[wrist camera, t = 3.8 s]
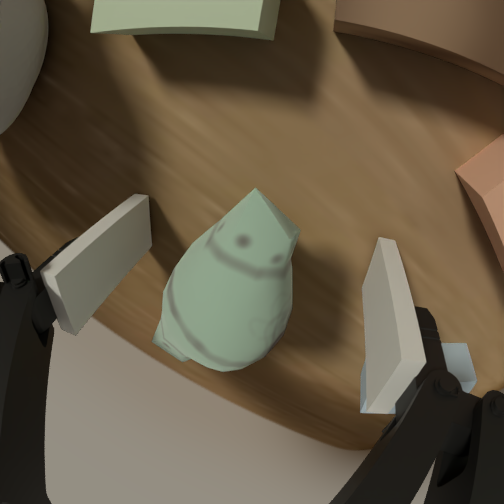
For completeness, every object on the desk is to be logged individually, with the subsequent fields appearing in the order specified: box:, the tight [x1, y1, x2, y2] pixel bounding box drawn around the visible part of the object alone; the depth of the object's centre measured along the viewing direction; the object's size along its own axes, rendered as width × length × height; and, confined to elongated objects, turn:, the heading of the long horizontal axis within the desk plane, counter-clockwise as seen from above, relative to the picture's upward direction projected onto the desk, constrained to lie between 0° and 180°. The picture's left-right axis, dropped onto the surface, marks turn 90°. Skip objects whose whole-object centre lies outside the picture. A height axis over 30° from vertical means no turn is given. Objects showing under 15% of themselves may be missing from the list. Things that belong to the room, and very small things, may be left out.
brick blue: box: [360, 343, 477, 414], centre depth 15 cm, size 6×3×3 cm, turn 93°
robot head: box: [152, 188, 301, 372], centre depth 11 cm, size 8×4×7 cm, turn 148°
